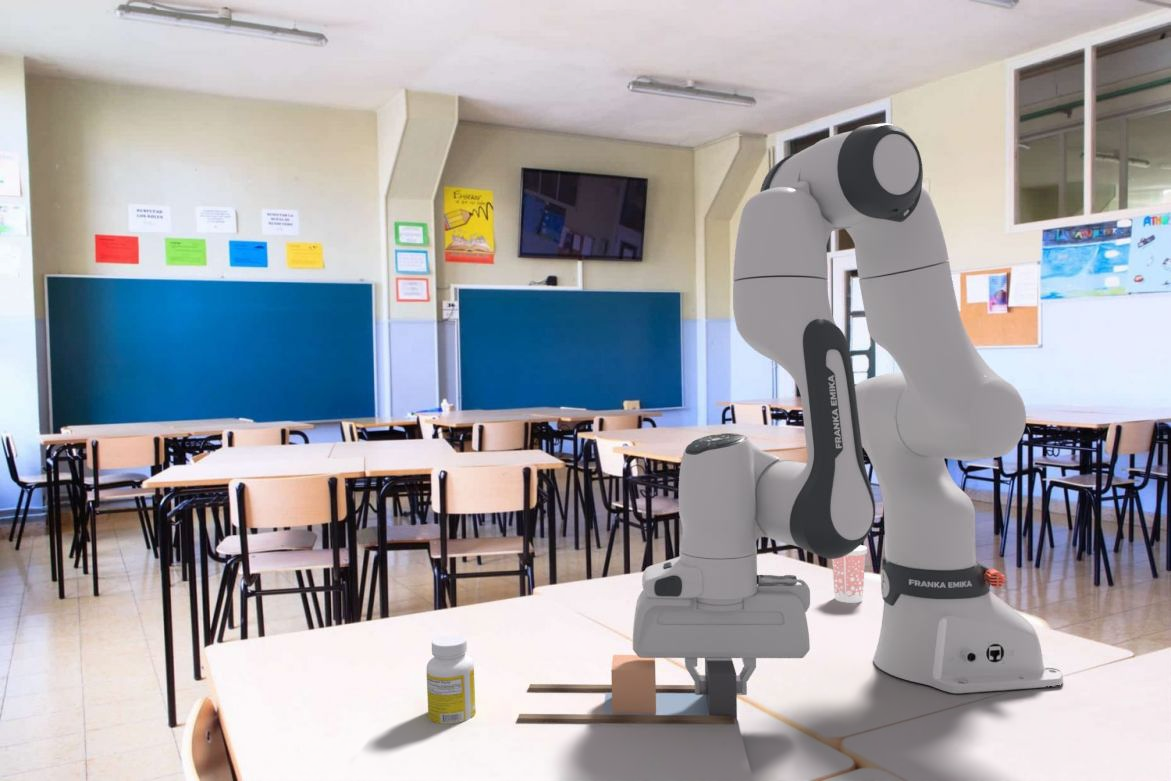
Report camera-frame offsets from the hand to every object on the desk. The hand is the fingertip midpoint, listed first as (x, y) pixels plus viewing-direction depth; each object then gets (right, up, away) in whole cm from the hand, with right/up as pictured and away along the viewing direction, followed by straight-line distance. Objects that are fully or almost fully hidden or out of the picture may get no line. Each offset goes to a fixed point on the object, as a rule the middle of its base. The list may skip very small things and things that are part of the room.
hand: (720, 693), depth 97 cm
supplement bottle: (-31, -4, -1) cm, 31 cm away
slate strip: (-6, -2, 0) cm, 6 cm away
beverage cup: (+29, -1, +46) cm, 55 cm away
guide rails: (-11, -3, +1) cm, 11 cm away
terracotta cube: (-10, -2, +1) cm, 10 cm away
